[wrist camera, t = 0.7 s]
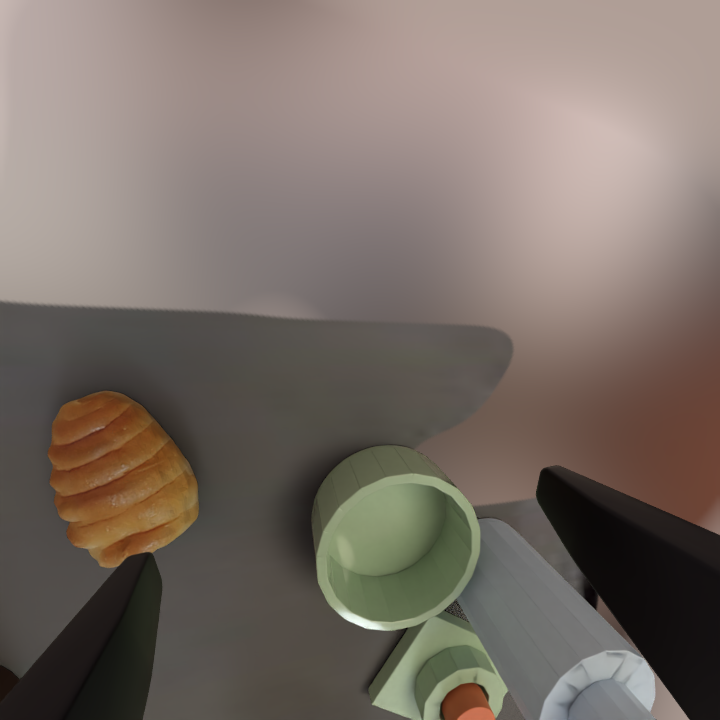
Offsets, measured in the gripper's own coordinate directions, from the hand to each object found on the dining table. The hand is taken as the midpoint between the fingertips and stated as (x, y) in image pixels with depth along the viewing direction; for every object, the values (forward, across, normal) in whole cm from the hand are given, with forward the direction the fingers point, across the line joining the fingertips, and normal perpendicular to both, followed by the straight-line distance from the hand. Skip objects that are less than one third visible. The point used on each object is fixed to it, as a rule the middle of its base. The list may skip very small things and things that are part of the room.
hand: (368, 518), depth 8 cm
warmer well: (+13, -4, +14) cm, 19 cm away
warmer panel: (+9, -8, +27) cm, 30 cm away
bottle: (+11, -12, +19) cm, 25 cm away
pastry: (+15, +11, +8) cm, 20 cm away
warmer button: (+6, -8, +27) cm, 29 cm away
